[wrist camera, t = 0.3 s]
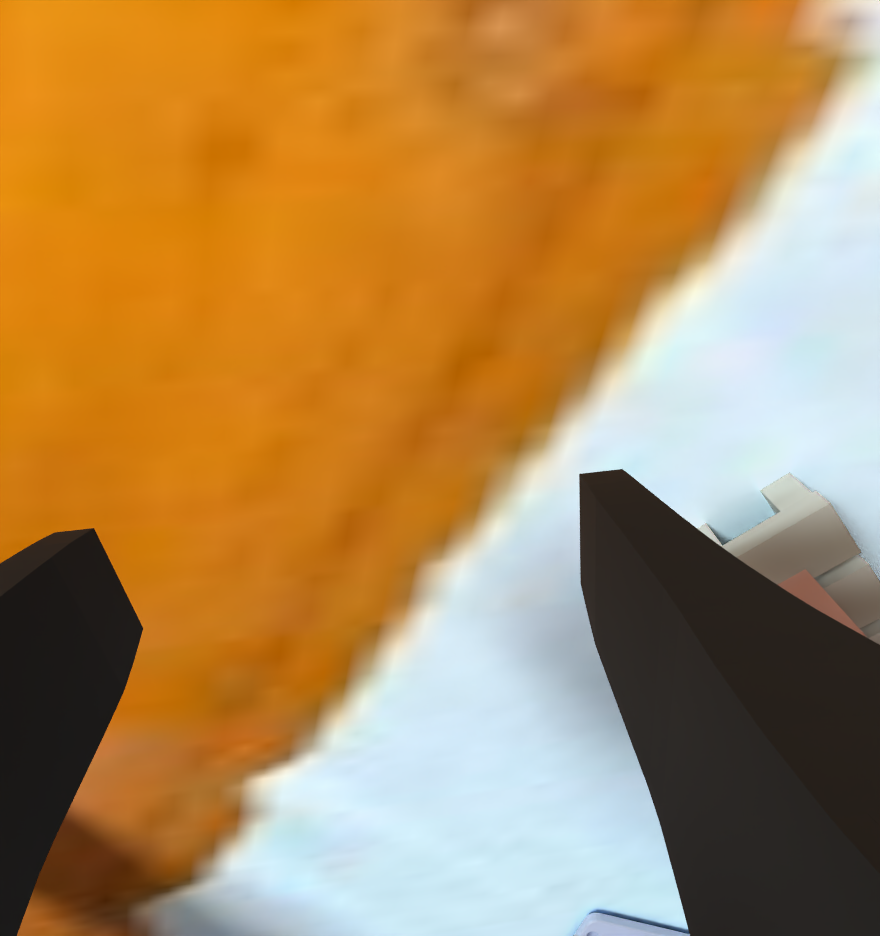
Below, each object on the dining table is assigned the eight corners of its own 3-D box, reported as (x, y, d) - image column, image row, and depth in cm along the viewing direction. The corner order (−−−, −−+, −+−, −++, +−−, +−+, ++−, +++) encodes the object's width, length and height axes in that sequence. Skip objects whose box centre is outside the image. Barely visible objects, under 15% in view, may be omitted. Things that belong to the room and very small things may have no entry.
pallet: (883, 614, 22) (930, 661, 20) (702, 708, 24) (727, 761, 22) (789, 468, 20) (830, 502, 18) (599, 583, 22) (615, 628, 20)
